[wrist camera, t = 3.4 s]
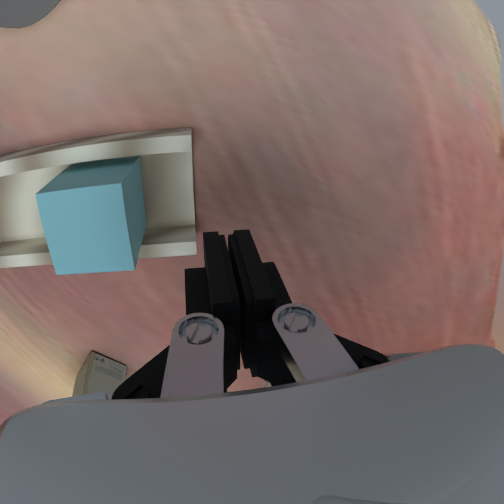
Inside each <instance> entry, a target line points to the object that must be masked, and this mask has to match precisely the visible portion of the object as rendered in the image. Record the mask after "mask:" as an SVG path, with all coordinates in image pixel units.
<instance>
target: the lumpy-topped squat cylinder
mask: <svg viewBox="0 0 504 504" xmlns="http://www.w3.org/2000/svg"><path fill="white" fill-rule="evenodd" d="M59 2H60V0H0V27H5V28H22V27H27V26H29V25H32V24H34V23H36V22H38V21H39V20H41V19H42V18H44V17H45V16H46V15H47V14H48V13H50V12H51V11H52V10H53V8H54V7H55V6H56V5H57V4H58V3H59Z"/></svg>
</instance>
